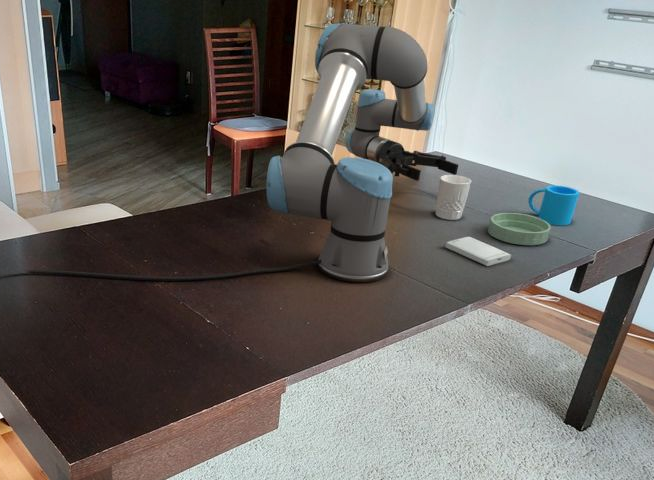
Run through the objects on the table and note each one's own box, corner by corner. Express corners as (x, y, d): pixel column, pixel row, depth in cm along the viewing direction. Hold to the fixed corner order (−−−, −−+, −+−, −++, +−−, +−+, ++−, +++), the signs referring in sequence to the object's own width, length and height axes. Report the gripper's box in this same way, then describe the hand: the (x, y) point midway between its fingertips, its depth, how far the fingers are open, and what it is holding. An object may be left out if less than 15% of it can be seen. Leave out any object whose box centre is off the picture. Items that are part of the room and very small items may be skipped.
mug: (575, 220, 182) (584, 190, 178) (563, 227, 177) (572, 197, 173) (531, 209, 189) (538, 180, 185) (519, 215, 184) (526, 186, 179)
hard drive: (446, 241, 161) (488, 260, 152) (469, 235, 165) (511, 253, 156) (444, 248, 162) (486, 266, 153) (468, 242, 166) (510, 260, 157)
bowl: (498, 245, 165) (501, 231, 163) (480, 224, 177) (483, 211, 175) (556, 247, 165) (560, 233, 163) (534, 226, 177) (538, 213, 175)
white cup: (427, 215, 182) (434, 178, 177) (441, 208, 187) (449, 173, 182) (455, 223, 177) (463, 185, 172) (468, 216, 182) (476, 179, 177)
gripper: (416, 161, 205) (468, 180, 189) (350, 170, 194) (400, 192, 178) (420, 136, 201) (474, 153, 185) (353, 144, 190) (404, 163, 174)
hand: (438, 172), depth 182 cm, fingers open, 13 cm apart
